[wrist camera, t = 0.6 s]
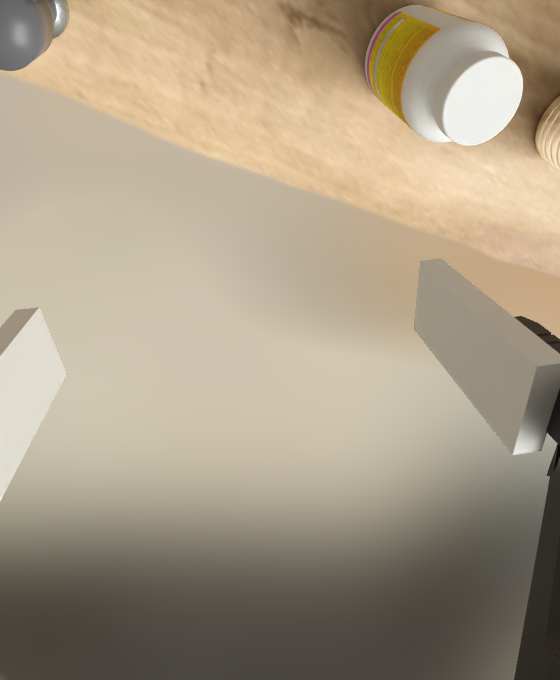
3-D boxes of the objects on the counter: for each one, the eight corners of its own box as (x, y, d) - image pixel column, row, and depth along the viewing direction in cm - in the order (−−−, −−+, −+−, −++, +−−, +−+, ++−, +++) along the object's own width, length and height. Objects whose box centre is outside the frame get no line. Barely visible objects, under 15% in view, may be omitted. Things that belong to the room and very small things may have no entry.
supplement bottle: (362, 109, 36) (418, 171, 27) (362, 11, 32) (430, 45, 22) (440, 95, 36) (523, 152, 27) (452, -5, 32) (557, 22, 22)
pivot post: (14, -44, 27) (-13, -41, 24) (75, -7, 29) (58, 2, 25) (4, 17, 29) (-23, 28, 26) (61, 49, 31) (44, 64, 27)
